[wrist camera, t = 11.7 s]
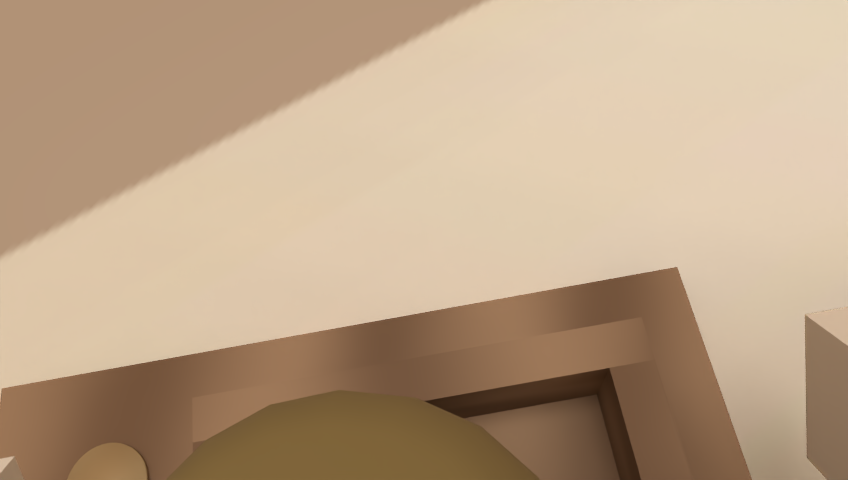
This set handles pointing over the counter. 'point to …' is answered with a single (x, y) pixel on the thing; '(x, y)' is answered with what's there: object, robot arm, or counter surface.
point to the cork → (352, 443)
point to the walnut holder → (422, 388)
